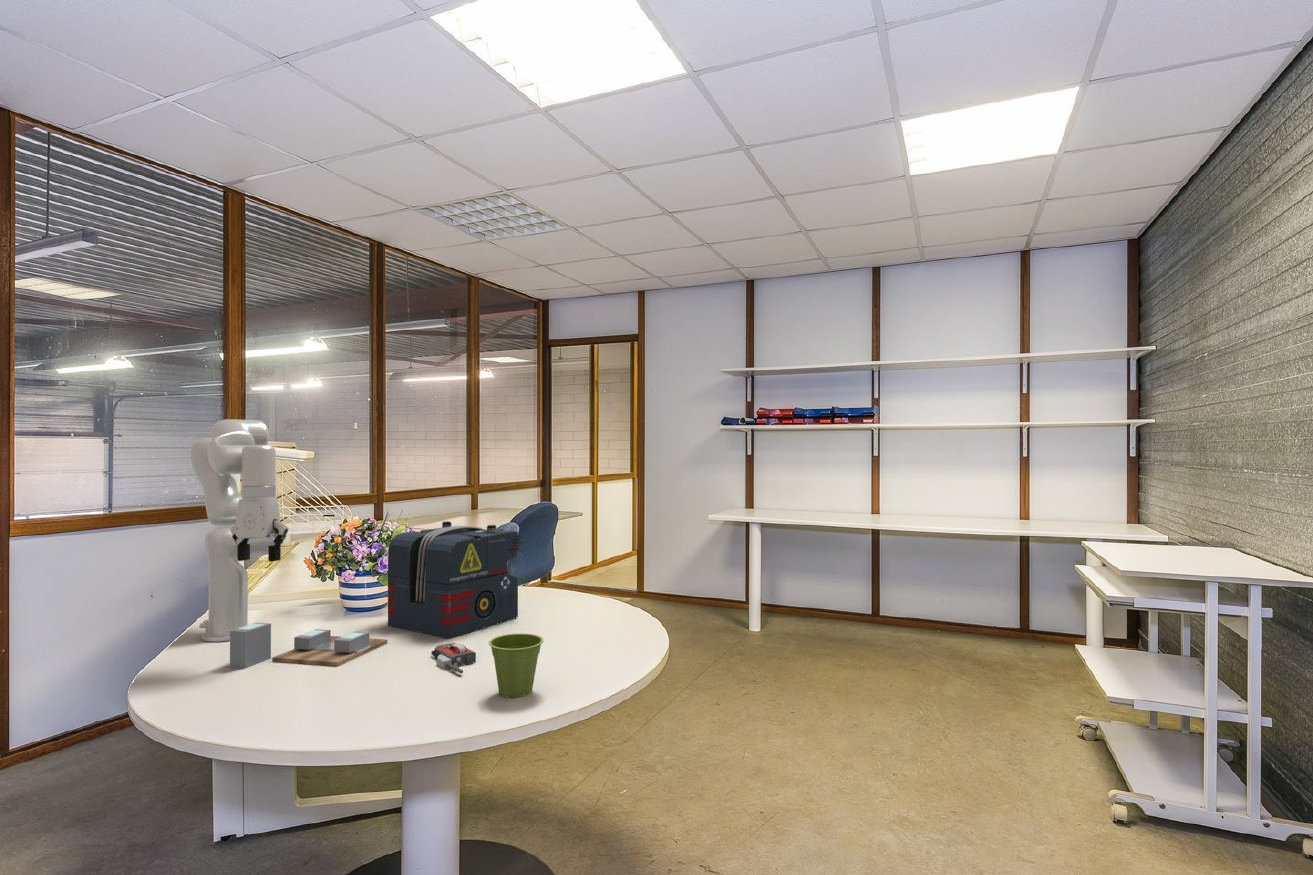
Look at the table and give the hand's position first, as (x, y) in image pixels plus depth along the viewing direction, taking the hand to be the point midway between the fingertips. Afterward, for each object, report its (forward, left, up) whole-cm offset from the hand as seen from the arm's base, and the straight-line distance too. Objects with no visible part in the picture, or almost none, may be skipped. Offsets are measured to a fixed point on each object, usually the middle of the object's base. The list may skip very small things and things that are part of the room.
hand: (259, 560), depth 169 cm
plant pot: (+74, -7, -26) cm, 78 cm away
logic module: (0, -2, -25) cm, 25 cm away
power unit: (+30, +45, -26) cm, 59 cm away
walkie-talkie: (+51, +8, -26) cm, 58 cm away
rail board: (+14, +10, -25) cm, 30 cm away
